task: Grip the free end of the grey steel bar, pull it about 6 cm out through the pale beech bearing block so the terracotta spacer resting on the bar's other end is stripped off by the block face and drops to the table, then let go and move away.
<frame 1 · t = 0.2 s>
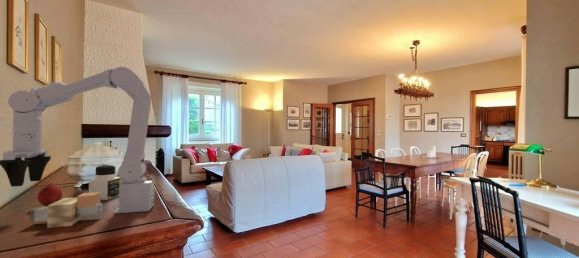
hand: (26, 183, 72), 10 cm above the table, tool pointing down, fingers open, 7 cm apart
spacer: (88, 205, 71), point 4 cm above the table, touching bar
bearing block: (67, 221, 70), on the table
onion: (49, 207, 83), on the table
medicine bottle: (105, 198, 96), on the table
bar: (68, 211, 70), point 3 cm above the table, slide at 0.0 cm, touching spacer
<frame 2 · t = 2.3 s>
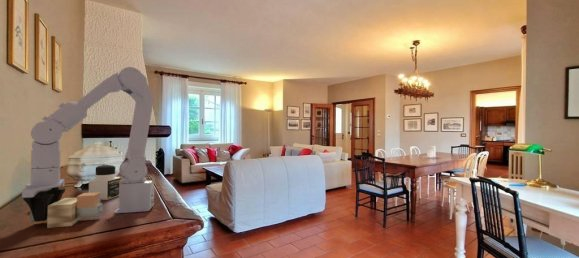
hand: (44, 218, 68), 1 cm above the table, tool pointing down, fingers closed on bar, 3 cm apart
bar: (68, 211, 70), point 3 cm above the table, slide at 0.0 cm, touching gripper, spacer
everything else where it was.
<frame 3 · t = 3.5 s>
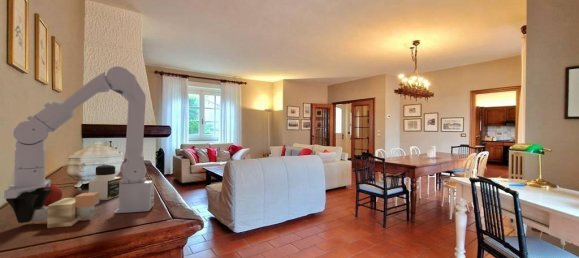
hand: (29, 219, 67), 1 cm above the table, tool pointing down, fingers closed on bar, 3 cm apart
spacer: (87, 205, 71), point 4 cm above the table, touching bar, bearing block
bar: (59, 212, 69), point 3 cm above the table, slide at 1.9 cm, touching gripper, spacer
everything else where it was.
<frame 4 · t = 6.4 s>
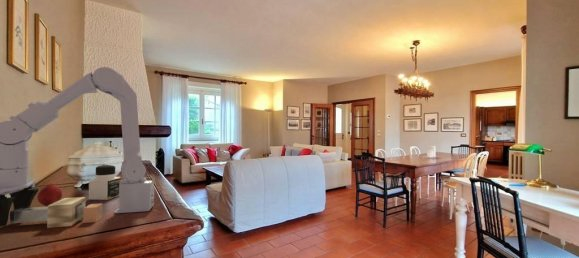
hand: (11, 221, 66), 1 cm above the table, tool pointing down, fingers open, 7 cm apart
spacer: (86, 213, 71), point 2 cm above the table, tilted 90°
bar: (49, 213, 69), point 3 cm above the table, slide at 4.0 cm
everything else where it was.
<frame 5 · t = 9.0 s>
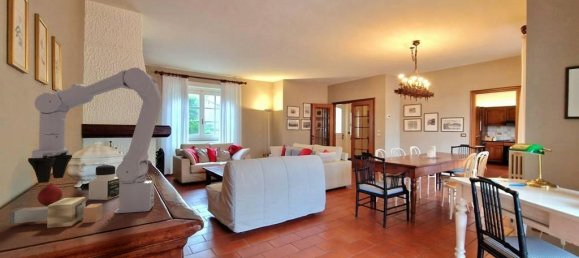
hand: (51, 180, 77), 10 cm above the table, tool pointing down, fingers open, 7 cm apart
nothing on the table moved.
at the end: bar slide at 4.0 cm; spacer point 1.9 cm above the table; spacer touching table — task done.
